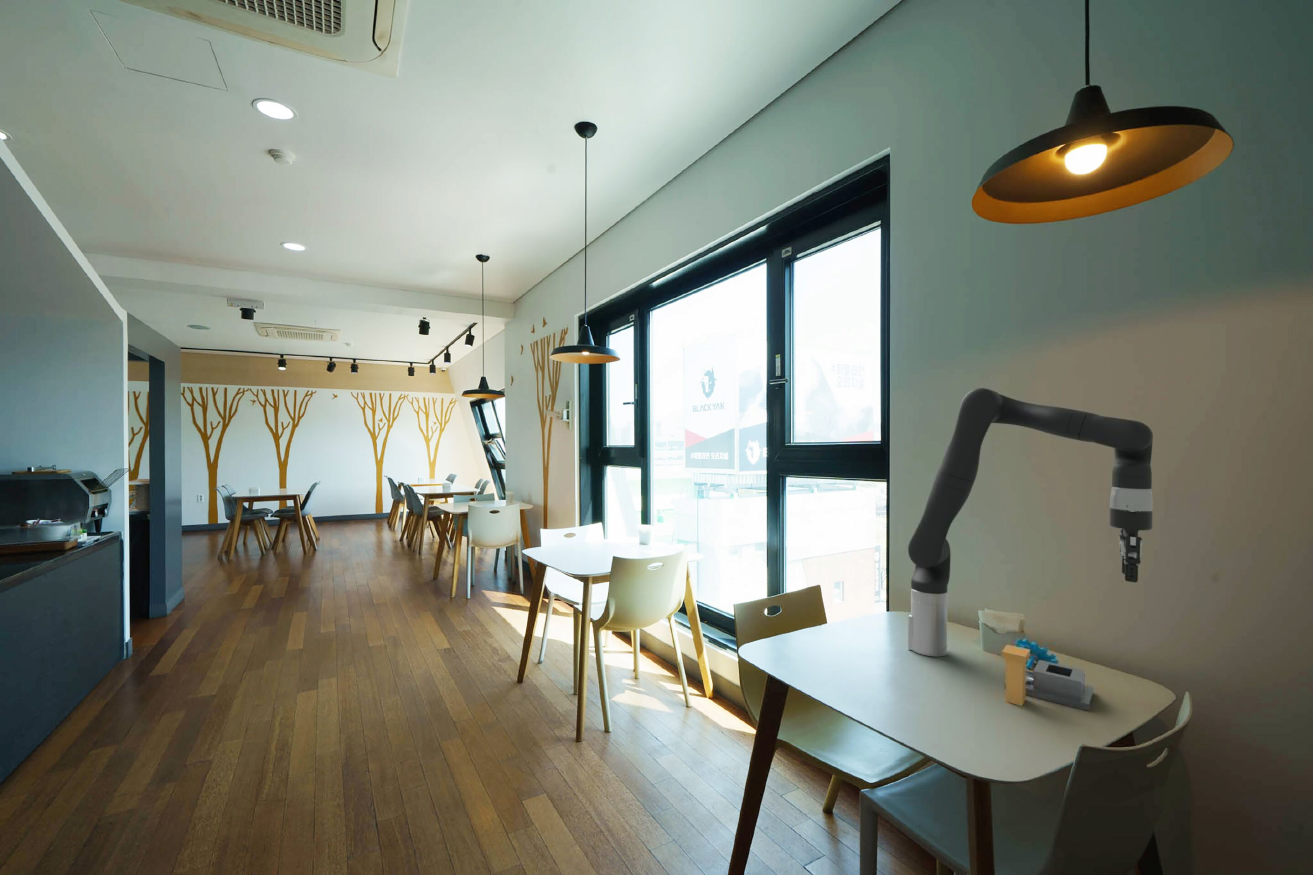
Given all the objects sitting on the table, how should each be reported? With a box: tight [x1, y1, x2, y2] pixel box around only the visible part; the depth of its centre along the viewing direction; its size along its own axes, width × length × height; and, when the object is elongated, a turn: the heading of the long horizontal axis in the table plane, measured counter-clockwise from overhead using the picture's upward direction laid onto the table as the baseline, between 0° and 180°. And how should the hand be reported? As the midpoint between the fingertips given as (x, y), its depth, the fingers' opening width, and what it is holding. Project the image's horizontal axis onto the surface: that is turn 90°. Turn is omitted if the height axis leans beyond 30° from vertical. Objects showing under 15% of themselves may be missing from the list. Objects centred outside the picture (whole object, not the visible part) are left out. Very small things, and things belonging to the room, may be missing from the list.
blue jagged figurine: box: [1014, 638, 1060, 670], centre depth 149 cm, size 11×6×10 cm
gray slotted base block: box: [1004, 660, 1094, 712], centre depth 134 cm, size 16×12×6 cm
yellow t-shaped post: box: [1001, 644, 1030, 707], centre depth 129 cm, size 5×6×11 cm
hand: (1129, 577), depth 130 cm, fingers open, 8 cm apart
